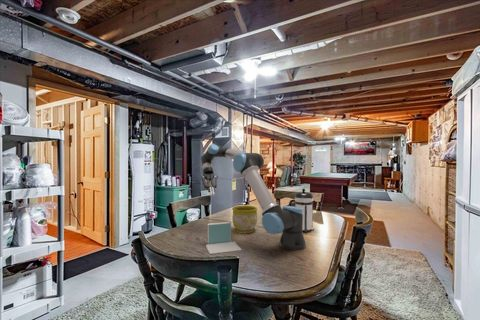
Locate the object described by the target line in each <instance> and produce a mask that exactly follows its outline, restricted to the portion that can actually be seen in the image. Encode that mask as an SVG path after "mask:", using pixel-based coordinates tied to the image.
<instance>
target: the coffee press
mask: <svg viewBox="0 0 480 320" xmlns="http://www.w3.org/2000/svg"><path fill="white" fill-rule="evenodd" d="M292 203H294V207H299V208H301V209H302V211H303V231H304V233H305V234H307V233H308V231H310V230H312V231H315V228H314V226H313V225H314V223H313V218H314V217H313V216H314V215H313V214H314V213H313V212H314V210H313V209H314V208H313V207H314V205H313V204H314V195H313V194H312V193H311V192H309V191H306V188H302V191H298V192H296V193H295V194H294V199H291V200H289V202H288V206H292Z"/></svg>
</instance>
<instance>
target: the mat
mask: <svg viewBox="0 0 480 320" xmlns="http://www.w3.org/2000/svg"><path fill="white" fill-rule="evenodd" d="M205 245H206V246H205V247H206V249H207V252H208V253H209V255H215V254H222V253H223V254H224V253H230V252H238V251H242V249H241V247H240V246H239V245H238V243H236V241H231V242H225V243H216V244H208V243H207V244H205Z"/></svg>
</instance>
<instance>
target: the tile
mask: <svg viewBox="0 0 480 320" xmlns="http://www.w3.org/2000/svg"><path fill="white" fill-rule="evenodd" d="M225 242H232V222H231V221H224V222H213V223H212V222H211V223H207V244H216V243H225Z"/></svg>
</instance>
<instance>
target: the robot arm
mask: <svg viewBox="0 0 480 320" xmlns="http://www.w3.org/2000/svg"><path fill="white" fill-rule="evenodd" d="M215 158H226V159H229V160H233V161H232V167H233V169H234V170H235V172H238V173H239V174H240V175H241V176H242V177H243V178H245V180H246V181H247V182H248V185H249V186H250V189H251V190H252V193H253V194H254V196H255V198H256V200H257V202H258V205H259V206H260V208H261V210H262V213H261V215H262V218H261V221H262V222H261V225H262V227H263V229H264V230H265V231H266V232H267V233H269V234H271V235H275V234H276V235H277V234H278V235H279V234H281V236H280V240H279V246H280V247H281V248H283V249H286V250H289V251H290V250H292V251H299V250H303V249H305V248H306V245H307V244H306V240H305V237H304V233H303V231H304V230H303V211H302V209H301V208H299V207H295V206H292V205H291V206H289V205H283V206H281V205H280V204H278V203H276V201H275V199H274V198H273V195H272V194H271V192H270V190H269V188H268V187H267V185H266V183H265V181H264V180H263V178H262V176H261V174H260V173H259V170H261V169H262V168H263V167H264V164H265V159H264V157H263V156H262V154H260V153H257V152H245V151H241V150H237V149H233V148H231V147H228V146H227V147H219V146H218V145H217V144H215V143H211V144H210V145H209V146H208V147H207V149H206V151H205V152H203V153H201V155H200V162H201V168H202V173H203V175H202V176H201V175H200V180H201V181H202V182H201V183H202V184H203V187H204V189H207V191H208V193H209V196H210V198H211V197H215V192H216V188H217V186H218V178H219V176H218V175H215V173H214V168H213V160H214V159H215ZM210 183H211V184H210ZM210 185H211V186H210Z"/></svg>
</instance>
